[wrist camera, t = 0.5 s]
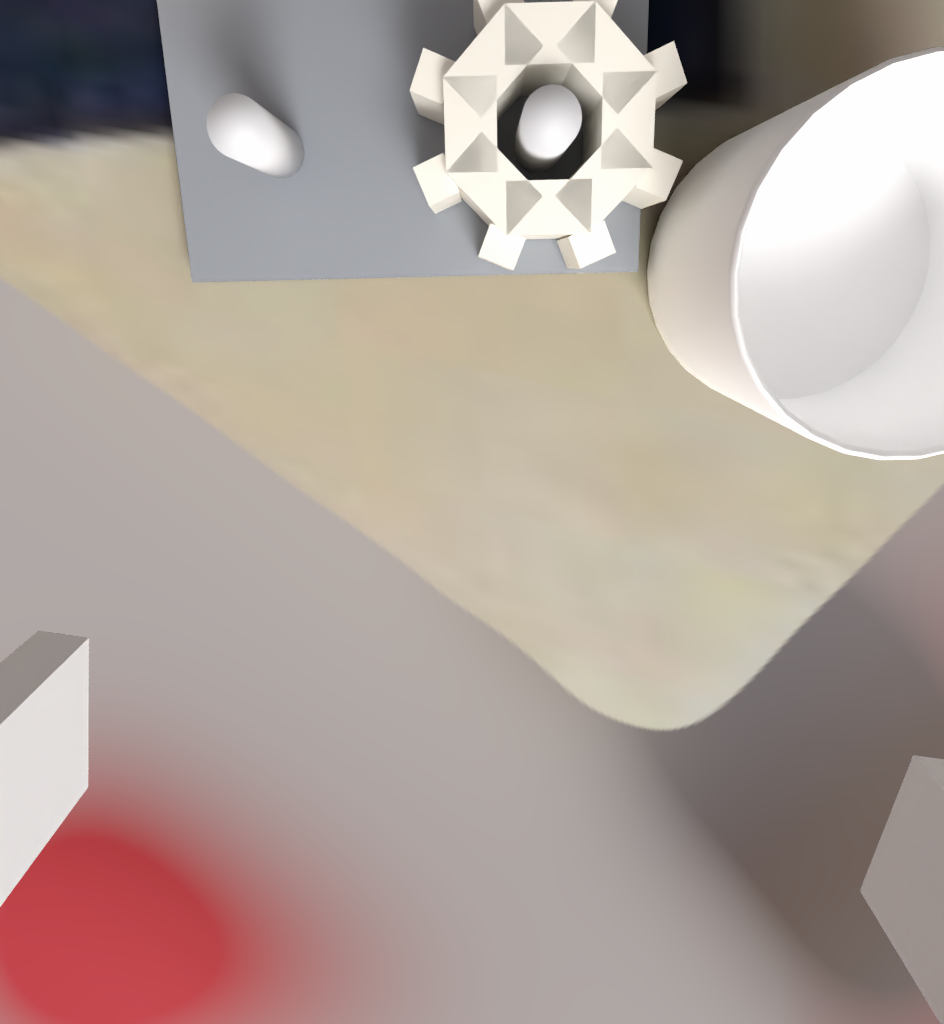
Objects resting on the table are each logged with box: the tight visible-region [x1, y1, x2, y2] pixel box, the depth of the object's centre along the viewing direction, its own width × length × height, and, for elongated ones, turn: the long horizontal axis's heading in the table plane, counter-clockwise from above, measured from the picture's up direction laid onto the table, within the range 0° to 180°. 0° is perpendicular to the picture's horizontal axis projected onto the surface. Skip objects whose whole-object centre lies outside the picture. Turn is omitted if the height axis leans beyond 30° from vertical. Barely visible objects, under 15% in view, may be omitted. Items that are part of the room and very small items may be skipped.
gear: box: [409, 0, 687, 270], centre depth 29 cm, size 10×10×5 cm
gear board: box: [157, 0, 649, 282], centre depth 29 cm, size 12×19×8 cm, turn 91°
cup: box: [647, 47, 944, 460], centre depth 29 cm, size 12×12×12 cm
